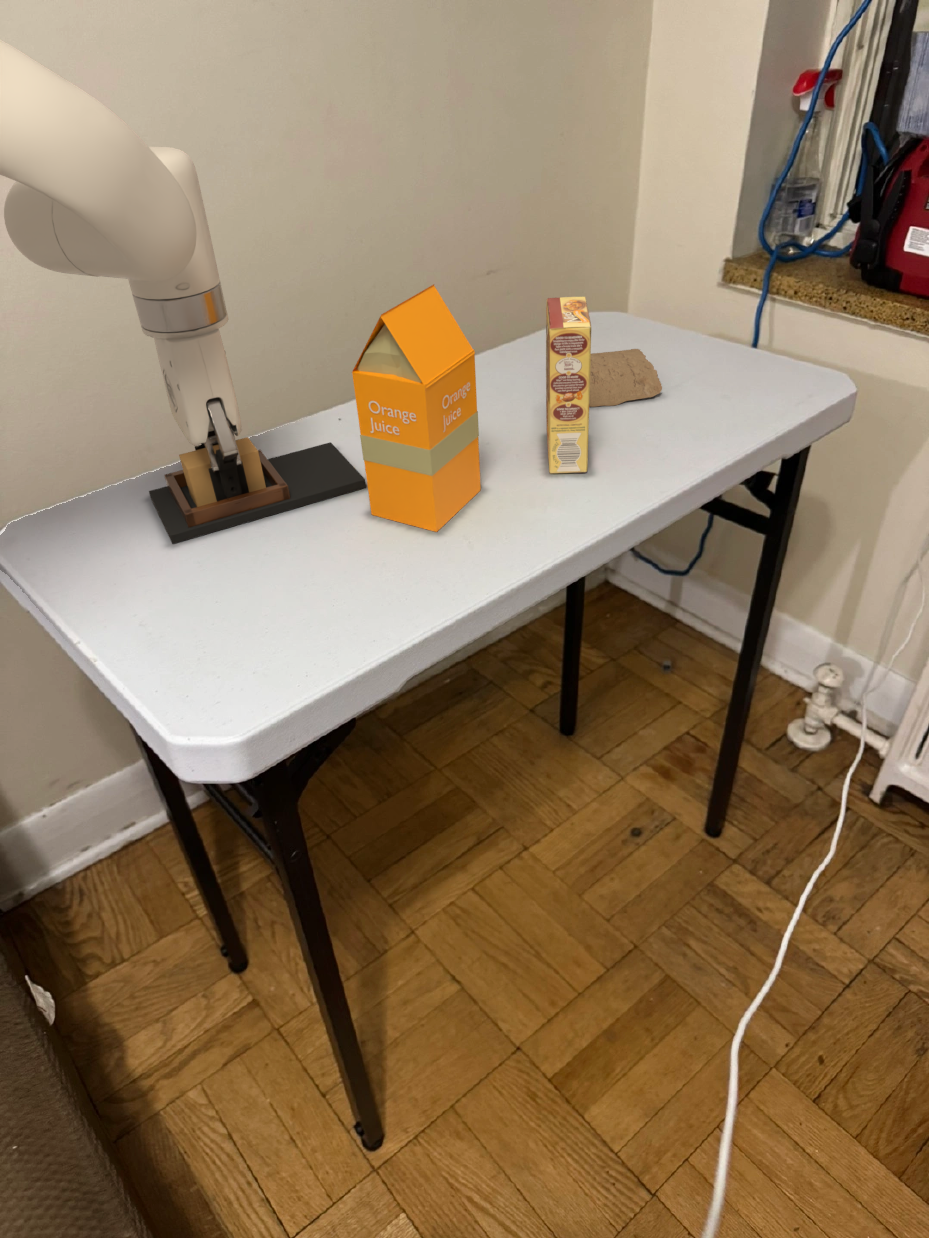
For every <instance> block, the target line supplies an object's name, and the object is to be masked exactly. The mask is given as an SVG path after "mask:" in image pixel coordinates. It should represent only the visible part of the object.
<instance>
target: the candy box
mask: <svg viewBox="0 0 929 1238" xmlns="http://www.w3.org/2000/svg"><path fill="white" fill-rule="evenodd" d="M586 298H587V297H586V296H563V297H548V298H547V299H546V300H545V301H546V303H545V304H546V307H545V309H546V310H545V403H546V404H545V410H546V411H545V412H546V413H545V414H546V418H545V419H546V445H547V459H548V472H549V474H567V473H568V474H569V473H570V474H571V473H573V474H574V473H587V472H588V461H589V460H588V458H589V429H590V427H589V426H590V406H589V396H590V360H591V354H592V321H591V318H590V312H589V307H588V303H587V299H586Z"/></svg>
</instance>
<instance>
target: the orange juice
mask: <svg viewBox="0 0 929 1238" xmlns="http://www.w3.org/2000/svg"><path fill="white" fill-rule="evenodd" d="M475 354H476V352H475V349H473V346H472V345H471V344H470V342H469V340H468V339H467V337H466V336H465V334H464V332H463V331H462V329H461V327H460V326H459V324H458V322H457V321H456V319H455V317H454V316H453V314H452V312H451V311H450V309H449V307H448V305H447V304H446V302H445V301H444V299H443V297H442V296H441V294H440V292H439V291H438V289H437V288H436V286H435V283H434V284H432V285H430V286H427V288H424V289H423V290H422V291H420V292H418V293H416V294H414V295H412V296H411V297H409V298H407V299H406V300H404V301H402V302H400V303H399V304H397V305H395V306H393V307H392V308H390V309H389V310H386V311H384V312H383V313H381V314H380V316H379V318H378V320H377V322H376V324H375V325H374V328H373V330H372V332H371V334H370V336H369V338H368V340H367V341H366V343H365V345H364V348H363V349H362V352H361V353H360V355H359V357H358V359H357V361H356V363H355V364H354V368H353V369H352V371H351V374H352V375H351V376H352V381H353V389H354V396H355V404H356V410H357V412H356V413H357V418H358V426H359V433H360V434H359V437H360V444H361V452H362V460H363V463H364V470H365V478H366V486H367V491H368V498H369V507H370V515H371V516H374V517H379V518H382V519H386V520H390V521H394V522H396V523H401V524H403V525H408V526H413V527H416V528H419V529H424V530H427V531H430V532H431V531H432V532H435V533H437V532H438V531H440V530H441V529H442V528H443V527H444V526H445V525H446V524H447V523H448V522H450V520H451V519H452V518H453V517H455V515H456V514H457V513H458V512H459V511H461V510H462V509H463V508H464V507H465V506H466V505H467V504H468V503H469V502H470V501H471V500H473V498H474V497H475V496H476V495H477V494H479V493H480V492H481V490H482V487H481V486H482V485H481V467H480V464H481V463H480V443H479V441H480V440H479V437H480V431H479V412H478V399H477V398H478V397H477V377H476V355H475Z"/></svg>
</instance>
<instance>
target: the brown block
mask: <svg viewBox="0 0 929 1238" xmlns="http://www.w3.org/2000/svg"><path fill="white" fill-rule="evenodd" d="M235 440H236V443H237V447H238V451H239V454H240V458H241V461H242V463H243V467H244V471H245V476H246V480H247V484H248V489H249V492H253V491H256V490H260V489H263V488H266V485H265V480H264V476H263V471H262V466H261V462H260V457H259V453H258V450H259V449H258V448H257V447H256V446H255V444H254V443H253V442H252V441H251V440H250V438H249V437H243V438H238V439H235ZM213 449H214V453H215V454H216V450H219V445H215V446H213ZM178 457H179V460H180V464H181V467H182V470H183V471H184V475H185V478H186V482H187V486H188V489H189V493H190V495H191V497H192V499H193V501H194V503H195V504H196V506H197V507H199V506H203V505H206V504H210V503H213V502H217V500H216V496H215V493H214V489H213V485H212V481H211V477H210V473H209V468H211V465H210V461H209V458H208V454H207V451H206V448H203V449H199V450H195V449H194V450H191V451H188V452H184V453H180V454H178Z"/></svg>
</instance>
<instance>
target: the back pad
mask: <svg viewBox="0 0 929 1238" xmlns="http://www.w3.org/2000/svg"><path fill="white" fill-rule="evenodd" d="M257 450H258V453H259V457H260V462H261V466H262V471H263V476H264V480H265V485H266V488H263V489H260V490H256V491H253V492H249V493H246V494H242V495H238V496H235V497H231V498H228V499H224V500H221V501H217V502H213V503H210V504H206V505H203V506H199V507H197V506H196V504H195V503H194V501H193V499H192V497H191V495H190V493H189V489H188V486H187V482H186V478H185V475H184V471H183V469H180V470H176V471H172V472H168V473H166V474H165V473H164V480H165V483H166V486H162V487H159V488H155V489H151V490H148V494H149V497H150V500H151V502H152V505H153V507H154V508H155V510H156V512H157V514H158V517H159V519H160V521H161V523H162V526H163V527H164V529H165V531H166V534H167V536H168V538H169V540H170V542H171V544H172V545H175V544H178V543H181V542H184V541H188V540H191V539H195V538H199V537H202V536H205V535H208V534H213V533H215V532H218V531H219V532H220V531H223V530H225V529H229V528H232V527H236V526H239V525H243V524H246V523H250V522H253V521H256V520H260V519H263V518H267V517H270V516H273V515H278V514H281V513H284V512H287V511H291V510H294V509H298V508H300V507H305V506H308V505H311V504H315V503H318V502H322V501H325V500H328V499H332V498H335V497H339V496H343V495H345V494H349V493H353V492H355V491H359V490H363V489H366V488H367V481H366V479H365V478H364V476H362V474H361V473H360V472H359V471H358V470H357V469H356V468H355V467H354V465H352V463H351V462H350V461H349V459H347V458H346V457H345V456H344V455H343V453H342V452H341V451H340V450H339V449H338V448H337V447H336V446H335V445H334V444H333V443H332V442H327V443H322V444H319V445H315V446H311V447H308V448H304V449H301V450H296V451H293V452H289V453H286V454H282V455H277V456H274V457H270V458H267V457H266V455H265V454H264V452H263V451H262V449H257Z"/></svg>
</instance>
